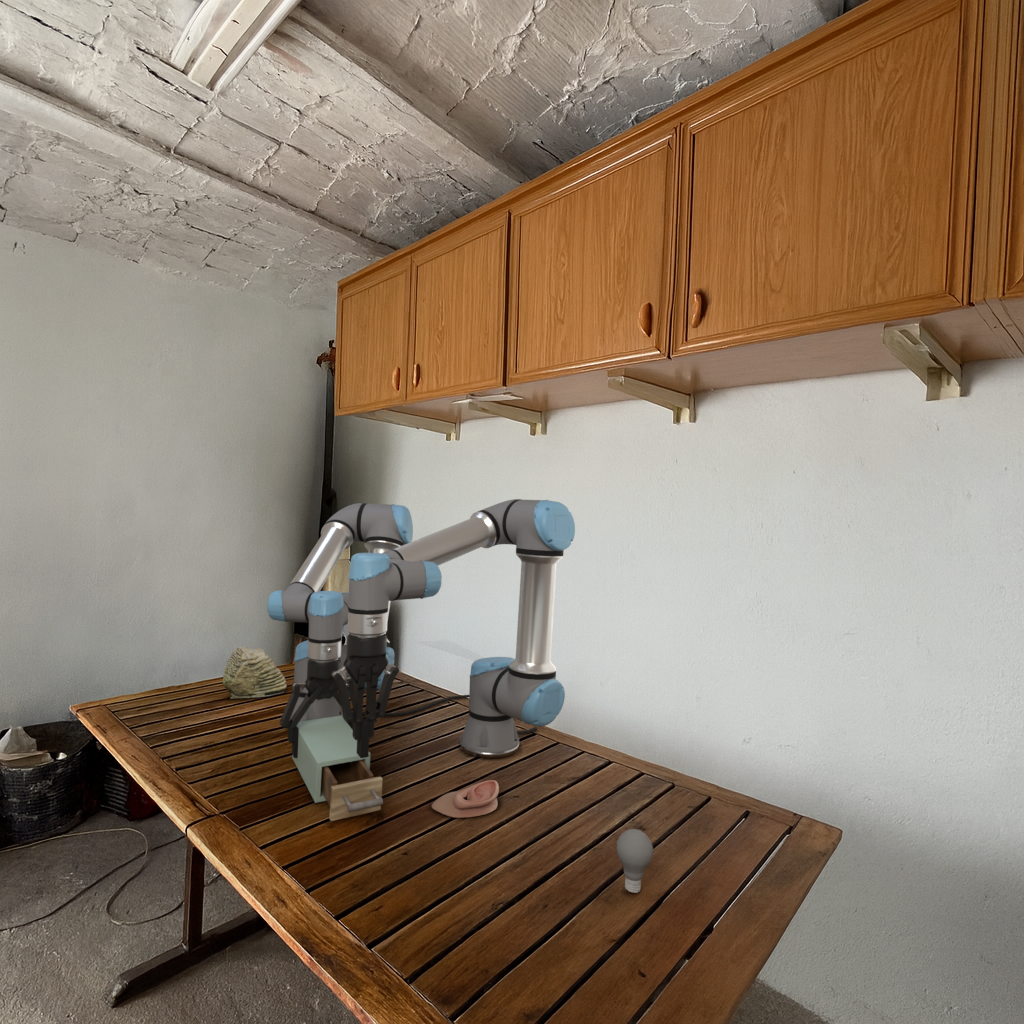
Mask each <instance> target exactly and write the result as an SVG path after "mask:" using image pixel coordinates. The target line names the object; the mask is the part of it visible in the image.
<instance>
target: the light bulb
mask: <svg viewBox="0 0 1024 1024" xmlns="http://www.w3.org/2000/svg"><path fill="white" fill-rule="evenodd" d="M615 849H616V854H617V857H618V859H619V861H620V863H621V865H622V867H623V873H624V874H623V875H624V876H625V878H624V888H625V890H627V891H628V892H630V893H634V894H635V893H639V892H640V891H641V889H642V887H641V886H642V879H643V877H644V875H645V871H646V868H647V867H648V866H649V864H650V863H651V861H652V859H653V855H654V847H653V843H652V841H651V838H649V836H648V835H647V834H646V833H645V832H643V831H642V830H641V829H636V828H629V829H627V830H625V831H623V832H622V833H621V834H620V835H619V837H618V839H617V841H616V847H615Z"/></svg>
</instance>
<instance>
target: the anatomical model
mask: <svg viewBox="0 0 1024 1024" xmlns="http://www.w3.org/2000/svg"><path fill="white" fill-rule="evenodd" d="M499 793H500V786H499V782H498V781H497V780H495V779H489V780H485V781H481V782H478V783H475V784H472V785H470V786H467V787H466V788H463V789H461V790H458V791H451V792H447V793H445V794H443V795H442V796H440V797H438V798H437V799H435V800H434V801H433V803H432V804H431V808H432V810H434V811H436V812H438V813H439V814H442V815H444V816H447V817H451V818H454V819H455V818H457V819H459V818H460V819H461V818H463V819H464V818H474V817H480V816H484V815H487V814H490V813H492V812H494V811H495V810H496V809H498V806H499V805H498V804H499V803H498V802H499V801H498V796H499Z"/></svg>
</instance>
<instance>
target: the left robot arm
mask: <svg viewBox="0 0 1024 1024" xmlns="http://www.w3.org/2000/svg"><path fill="white" fill-rule="evenodd" d="M413 525H414V524H413V518H412V514H411V511H410V509H409V508H408V507H407V506H405V505H400V504H396V503H395V504H394V503H391V504H388V503H387V504H386V503H365V502H359V503H358V502H357V503H352V504H349V505H347V506H345V507H343V508H341V509H340V510H338V511H337V512H335V513H334V514H332V516H330V517H329V518H328V519H327V520H326V522H324V524H323V526H322V528H321V531H320V537H319V538H318V540H317V542H316V543H315V545H314V547H313V548H312V549H311V551H310V553H309V554H308V556H307V557H306V558H305V560H304V562H303V563H302V565H301V567H300V568H299V569H298V571H297V573H296V574H295V576H294V577H293V579H292V580H291V582H290V583H289V585H288V586H287V588H286V589H285V590H283V589H279V590H274V591H272V592H271V593H270V594H269V597H268V600H267V603H266V604H267V605H266V611H267V616H268V617H269V618H270V619H271V620H273V621H279V622H285V623H287V622H289V623H307V624H308V639H307V640H304V641H302V642H299V643H298V644H297V645H296V647H295V652H294V653H295V654H294V659H293V661H294V670H293V671H294V672H293V682H292V684H291V693H290V695H289V698H288V700H287V703H286V705H285V707H284V710H283V711H282V715H281V718H280V719H279V724H280V726H281V728H283V729H287V742H288V743H289V744H291V756H292V755H293V757H294V758H298V733H299V729H298V728H297V724H298V723H299V722H300V721H307V720H314V719H321V718H328V717H335V716H342V717H343V718H344V716H343V712H342V707H341V702H340V698H339V693H338V688H337V683H336V681H335V680H334V678H333V677H332V675H331V673H332V672H333V671H338V670H339V669H340V668H342V667H343V664H344V661H345V660H346V652H347V644H342V641H343V627H344V626H347V625H348V608H349V607H348V604H349V591H347V592H344V591H343V592H340V591H337V590H322V588H323V587H324V585H325V583H326V581H327V580H328V579H329V576H330V575H331V573H332V571H333V570H334V568H335V566H336V565H337V563H338V561H339V559H340V558H341V556H342V554H343V553H344V551H345V550H347V549H348V548H350V547H351V546H352V545H353V543H357V542H358V543H359V542H360V543H361V542H362V543H364V544H363V545H364V547H365V549H366V550H367V553H384V552H386V551H389V550H392V549H395V548H397V547H400V546H402V545H405V544H408V543H410V542H413V538H414V537H413V535H414V530H413V529H414V526H413ZM391 602H392V601H389V604H388V617H389V614H390V609H391ZM388 621H389V620H388ZM388 621H387V623H388ZM384 634H386V635H387V631H386V632H385V633H384ZM390 645H391V641H390V640H389V639H388V638H387V649H386V657H387V659H388V663H389V664H391V665H394V666H395V657H396V655H395V651H394V648H392V647H390ZM384 670H385V669H384ZM384 675H385V673H384V671H383V672H382V674H381V675H380V677H379V678H378V686H377V691H380V688H381V684H382V681H383V677H384ZM344 681H345V683H346V686H347V690H348V695H349V700H350V704H351V706H353V691H354V685H353V679H352V678H351V677H350V675H349V674H348V672H347V673H346V679H345V680H344ZM366 688H367V684H366V682H365V688H364V691H365V692H366ZM465 698H467V699H469V694H462V695H461V694H460V695H453V696H447V697H444V698H441V699H438V700H435V701H432V702H430V703H426V704H425V705H423V706H420V707H417V708H413V709H409V710H404V711H399V712H385V714H384V716H383V717H396V716H397V717H398V716H404V715H409V714H413V713H416V712H419V711H423V710H426V709H427V708H430V707H433V706H435V705H437V704H441V703H444V702H446V701H451V700H456V699H465ZM352 714H353V711H352ZM365 715H366V711H363V716H365ZM344 720H345V721H346V722H347V723H348V725H349V726H350V727H351V729H352V730H353V722H348V721H347V720H346V719H345V718H344Z"/></svg>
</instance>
